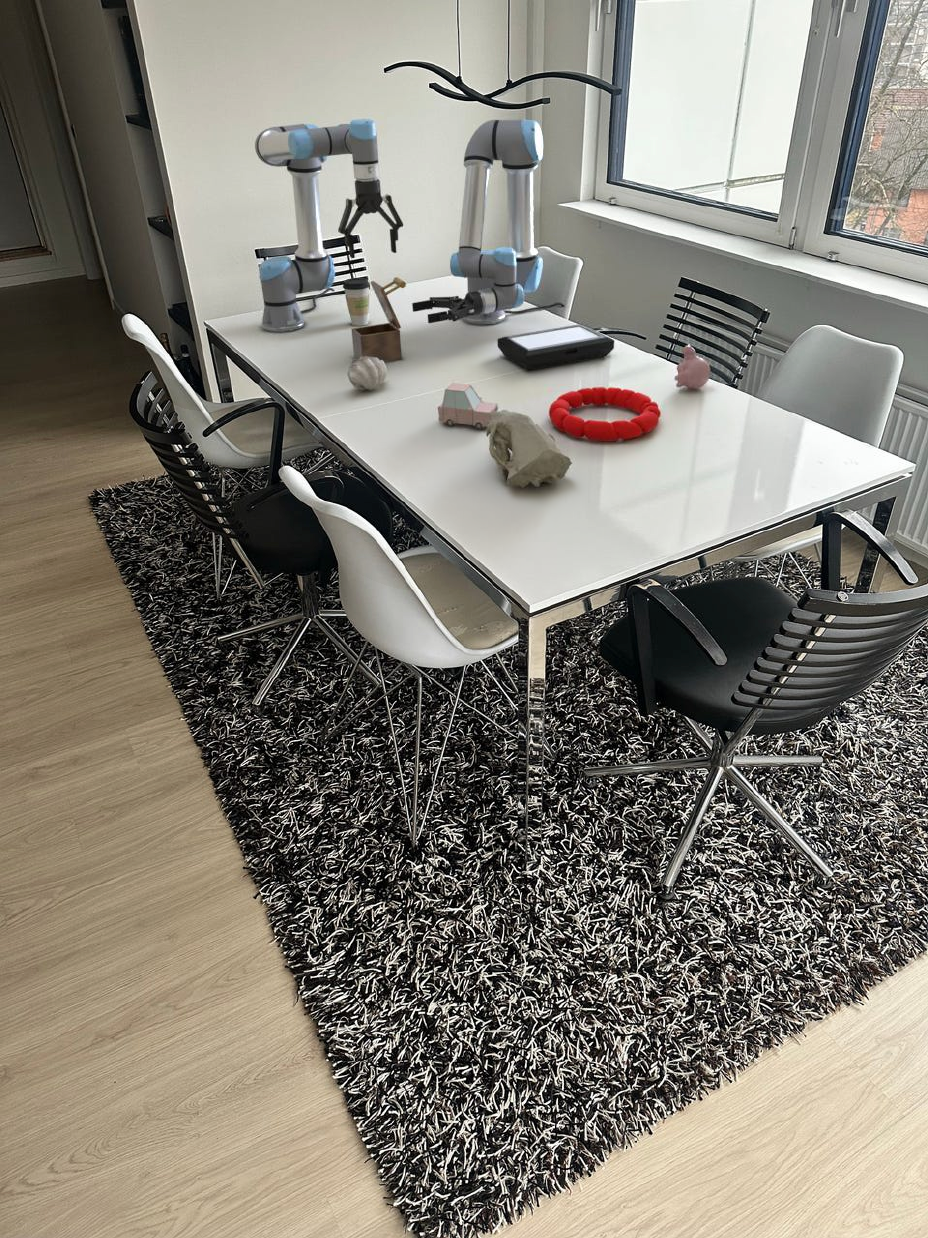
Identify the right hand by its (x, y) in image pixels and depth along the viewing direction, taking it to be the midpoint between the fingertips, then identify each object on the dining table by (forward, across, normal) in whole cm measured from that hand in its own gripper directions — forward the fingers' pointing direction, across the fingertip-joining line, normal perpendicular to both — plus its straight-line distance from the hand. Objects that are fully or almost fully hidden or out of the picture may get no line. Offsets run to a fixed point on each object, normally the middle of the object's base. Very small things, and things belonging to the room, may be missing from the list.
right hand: (420, 312), depth 291 cm
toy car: (+12, -64, -11) cm, 66 cm away
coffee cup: (+8, +41, -14) cm, 44 cm away
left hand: (+14, +1, +20) cm, 24 cm away
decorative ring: (-21, -81, -11) cm, 84 cm away
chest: (+16, 0, -12) cm, 20 cm away
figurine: (-57, -71, -12) cm, 92 cm away
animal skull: (+13, -98, -10) cm, 99 cm away
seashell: (+28, -26, -11) cm, 40 cm away
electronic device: (-36, -26, -13) cm, 46 cm away
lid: (+12, +1, +4) cm, 12 cm away
